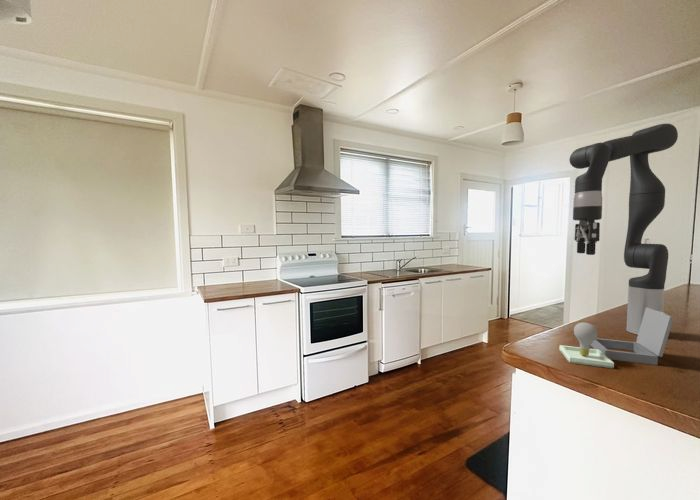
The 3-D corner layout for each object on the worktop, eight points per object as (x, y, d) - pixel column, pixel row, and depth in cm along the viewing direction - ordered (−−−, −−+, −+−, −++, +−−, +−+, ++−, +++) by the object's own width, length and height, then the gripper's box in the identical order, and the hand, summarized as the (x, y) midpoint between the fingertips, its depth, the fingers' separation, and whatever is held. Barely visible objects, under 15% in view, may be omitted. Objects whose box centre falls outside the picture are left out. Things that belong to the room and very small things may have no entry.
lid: (646, 306, 91) (651, 308, 90) (635, 341, 92) (641, 343, 91) (670, 316, 80) (676, 318, 79) (658, 356, 81) (664, 357, 81)
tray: (559, 349, 92) (559, 345, 92) (598, 354, 89) (598, 349, 88) (569, 362, 83) (569, 357, 83) (613, 368, 79) (614, 363, 79)
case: (590, 344, 96) (590, 337, 96) (635, 349, 92) (635, 342, 92) (605, 358, 86) (605, 350, 86) (657, 365, 81) (657, 356, 81)
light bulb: (600, 360, 83) (602, 326, 82) (578, 358, 84) (580, 325, 84) (589, 352, 88) (590, 320, 88) (568, 351, 90) (570, 319, 89)
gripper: (611, 203, 89) (608, 255, 90) (592, 207, 103) (590, 253, 103) (581, 204, 92) (579, 255, 93) (567, 208, 105) (565, 252, 106)
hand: (585, 253), depth 98 cm, fingers open, 8 cm apart
